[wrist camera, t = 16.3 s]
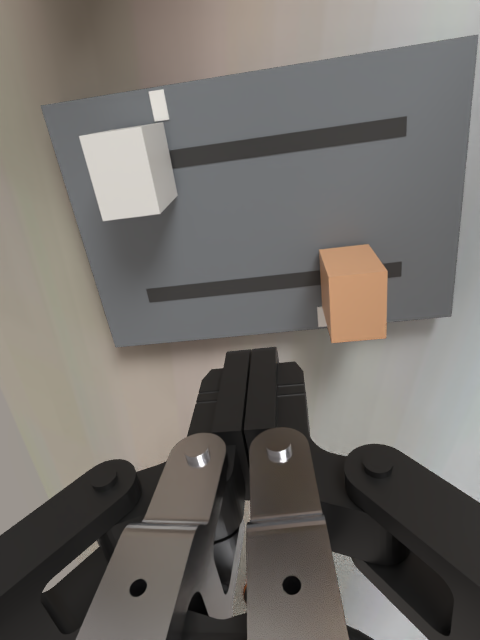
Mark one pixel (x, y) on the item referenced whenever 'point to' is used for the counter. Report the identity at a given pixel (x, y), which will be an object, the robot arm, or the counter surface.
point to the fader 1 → (130, 171)
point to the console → (281, 191)
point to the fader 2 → (353, 293)
